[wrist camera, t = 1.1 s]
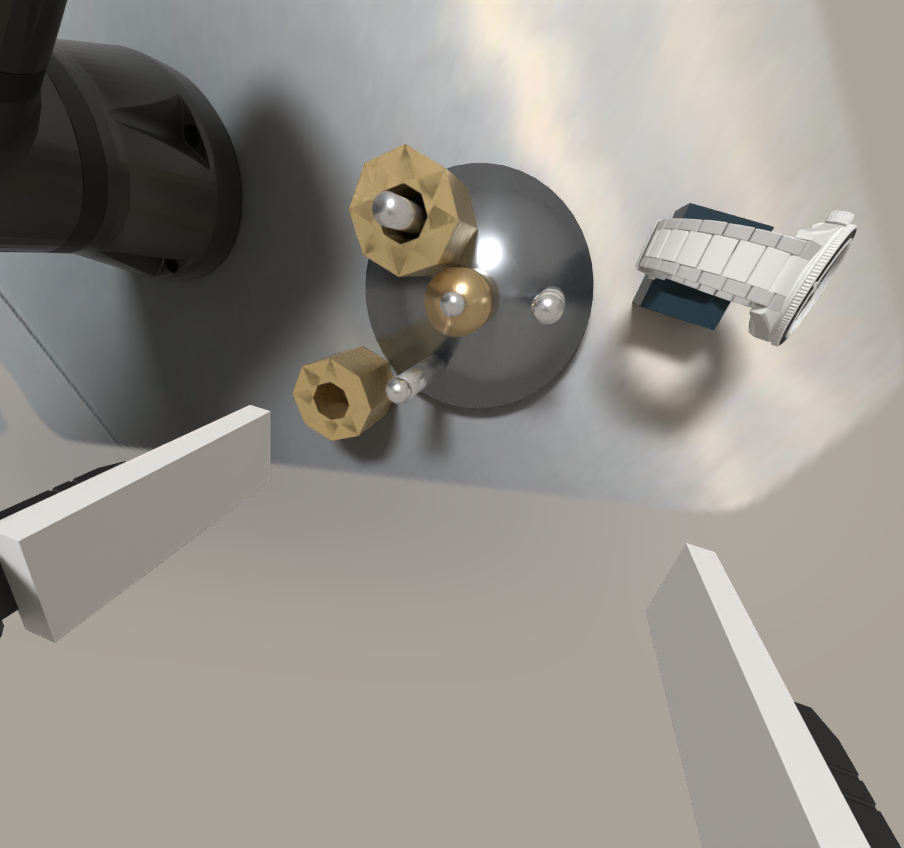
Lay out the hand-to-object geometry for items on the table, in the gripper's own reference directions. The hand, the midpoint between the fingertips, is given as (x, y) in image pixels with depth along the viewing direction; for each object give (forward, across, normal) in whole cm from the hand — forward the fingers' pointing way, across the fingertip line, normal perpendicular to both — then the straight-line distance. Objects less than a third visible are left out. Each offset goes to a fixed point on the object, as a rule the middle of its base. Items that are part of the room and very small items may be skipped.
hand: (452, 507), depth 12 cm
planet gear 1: (+19, -12, -5) cm, 23 cm away
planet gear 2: (+18, -8, +8) cm, 21 cm away
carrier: (+19, -4, +4) cm, 20 cm away
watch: (+19, +9, +9) cm, 23 cm away
